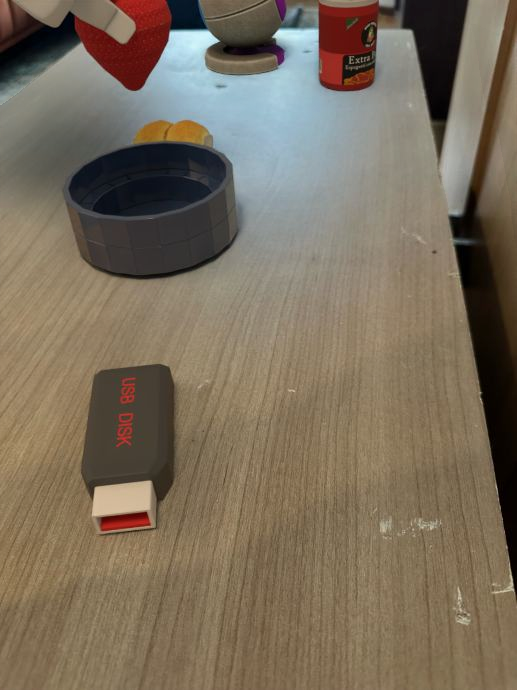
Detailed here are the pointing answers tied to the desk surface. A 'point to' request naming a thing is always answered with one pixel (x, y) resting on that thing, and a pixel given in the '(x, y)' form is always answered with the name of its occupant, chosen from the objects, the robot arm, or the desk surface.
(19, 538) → the desk surface
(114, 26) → the robot arm
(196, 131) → the bread roll
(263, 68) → the webcam
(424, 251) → the desk surface
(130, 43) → the strawberry
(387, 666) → the desk surface
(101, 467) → the usb drive
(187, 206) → the bowl
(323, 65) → the canned food
